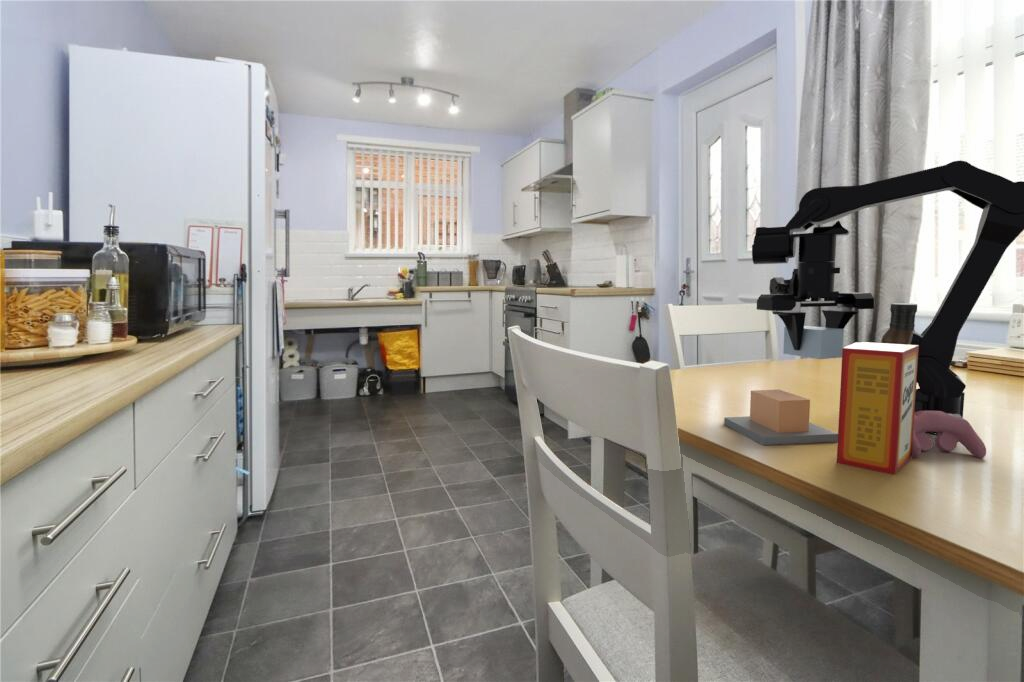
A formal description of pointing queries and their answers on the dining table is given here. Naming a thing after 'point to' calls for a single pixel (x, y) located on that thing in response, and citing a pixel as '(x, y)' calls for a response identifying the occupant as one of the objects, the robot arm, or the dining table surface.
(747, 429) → the baseplate
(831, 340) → the brick top
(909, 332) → the sauce bottle
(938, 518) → the dining table surface
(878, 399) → the baking soda box
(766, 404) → the brick bottom
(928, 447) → the video game controller
